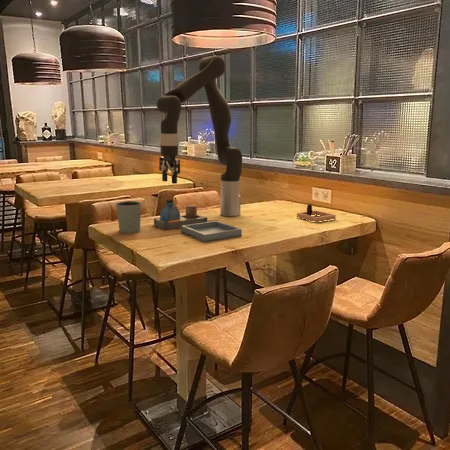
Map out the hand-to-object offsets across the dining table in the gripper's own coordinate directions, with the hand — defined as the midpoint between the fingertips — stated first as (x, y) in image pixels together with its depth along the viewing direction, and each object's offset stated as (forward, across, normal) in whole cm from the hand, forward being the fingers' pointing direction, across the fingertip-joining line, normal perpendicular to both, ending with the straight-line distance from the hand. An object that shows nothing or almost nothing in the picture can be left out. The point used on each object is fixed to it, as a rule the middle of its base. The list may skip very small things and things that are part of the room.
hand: (169, 182), depth 200 cm
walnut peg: (+19, 0, -11) cm, 22 cm away
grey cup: (+20, +1, +19) cm, 27 cm away
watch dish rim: (+19, -24, -67) cm, 74 cm away
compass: (+20, -23, -68) cm, 74 cm away
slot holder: (+19, 0, -6) cm, 20 cm away
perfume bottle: (+20, 0, 0) cm, 20 cm away
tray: (+19, -22, -7) cm, 30 cm away
